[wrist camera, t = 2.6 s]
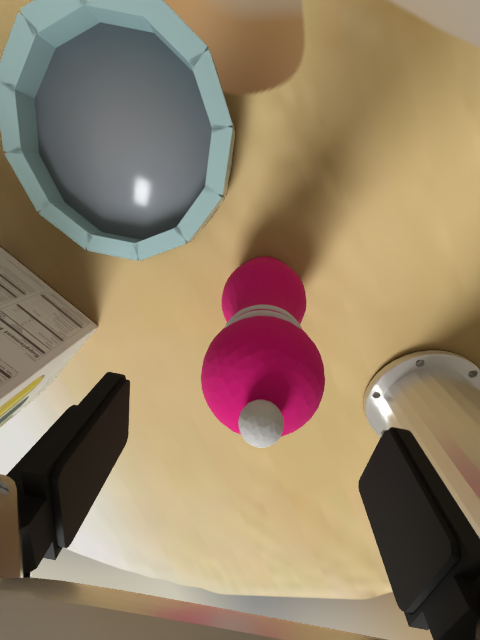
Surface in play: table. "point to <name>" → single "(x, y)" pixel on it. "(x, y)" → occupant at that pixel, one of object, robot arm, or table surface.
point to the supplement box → (33, 335)
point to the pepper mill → (263, 355)
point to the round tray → (115, 123)
